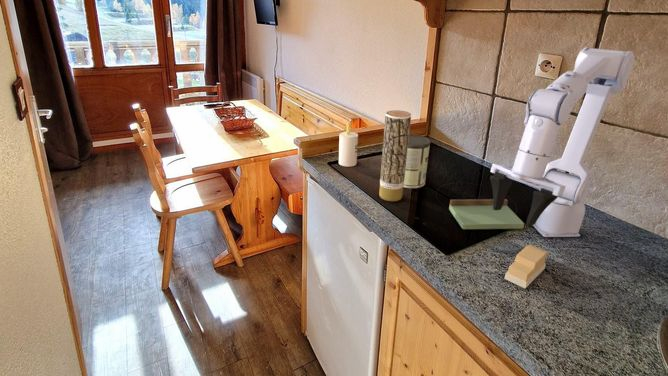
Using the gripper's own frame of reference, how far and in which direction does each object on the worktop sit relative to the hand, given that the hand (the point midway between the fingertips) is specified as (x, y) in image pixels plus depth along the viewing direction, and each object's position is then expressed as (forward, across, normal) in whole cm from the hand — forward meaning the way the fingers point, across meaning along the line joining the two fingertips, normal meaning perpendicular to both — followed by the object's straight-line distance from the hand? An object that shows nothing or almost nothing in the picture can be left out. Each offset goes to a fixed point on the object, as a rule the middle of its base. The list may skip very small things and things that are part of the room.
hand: (513, 216), depth 83 cm
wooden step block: (+12, +4, +5) cm, 14 cm away
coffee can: (+9, -44, +17) cm, 49 cm away
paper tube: (+11, -39, +5) cm, 41 cm away
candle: (+10, -68, +10) cm, 69 cm away
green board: (+9, -16, +18) cm, 26 cm away
